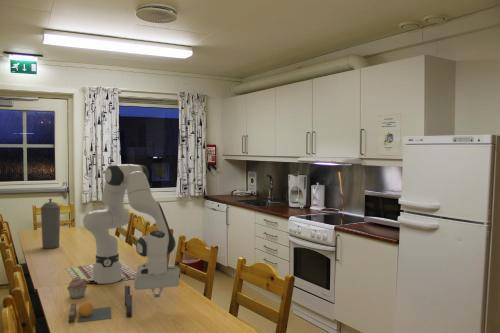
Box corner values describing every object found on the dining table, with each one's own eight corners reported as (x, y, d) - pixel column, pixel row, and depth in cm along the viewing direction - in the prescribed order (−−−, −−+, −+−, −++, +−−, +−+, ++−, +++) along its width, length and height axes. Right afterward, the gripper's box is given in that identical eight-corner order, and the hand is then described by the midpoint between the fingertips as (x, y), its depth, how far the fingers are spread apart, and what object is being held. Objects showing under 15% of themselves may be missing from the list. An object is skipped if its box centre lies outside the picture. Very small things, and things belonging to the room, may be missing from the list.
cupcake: (91, 296, 205) (91, 276, 204) (72, 301, 198) (72, 280, 197) (82, 291, 211) (81, 272, 210) (63, 296, 204) (63, 276, 203)
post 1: (124, 304, 194) (124, 285, 194) (130, 304, 195) (130, 285, 194) (124, 306, 192) (124, 287, 191) (130, 306, 193) (130, 286, 192)
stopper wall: (71, 310, 187) (71, 303, 187) (76, 309, 188) (76, 303, 187) (68, 323, 174) (68, 315, 174) (74, 322, 174) (73, 315, 174)
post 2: (126, 315, 182) (125, 295, 181) (131, 314, 183) (131, 294, 182) (126, 317, 180) (126, 297, 179) (132, 316, 180) (132, 296, 180)
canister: (57, 244, 311) (57, 197, 309) (62, 247, 301) (62, 199, 300) (39, 246, 303) (38, 198, 301) (43, 250, 293) (43, 200, 292)
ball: (81, 298, 183) (95, 302, 185) (76, 312, 182) (89, 316, 184) (81, 302, 177) (95, 306, 179) (75, 316, 176) (90, 320, 178)
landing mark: (79, 310, 187) (79, 310, 187) (110, 307, 191) (110, 306, 191) (77, 322, 174) (77, 321, 174) (110, 318, 179) (110, 318, 179)
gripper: (178, 263, 197) (178, 292, 198) (133, 266, 190) (133, 296, 191) (181, 267, 191) (180, 297, 192) (134, 271, 184) (134, 301, 185)
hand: (156, 297), depth 192 cm, fingers closed
